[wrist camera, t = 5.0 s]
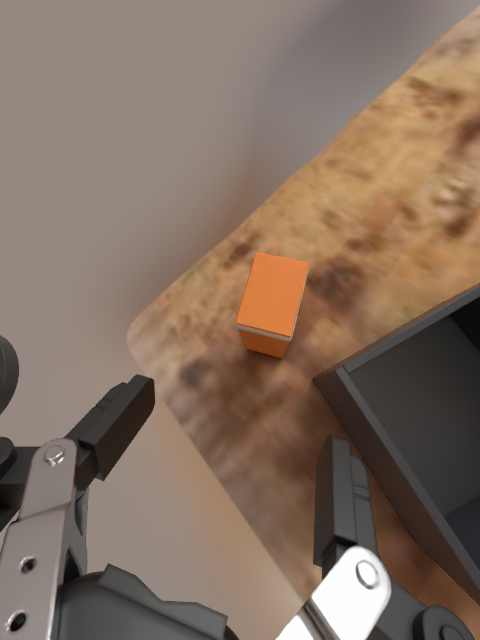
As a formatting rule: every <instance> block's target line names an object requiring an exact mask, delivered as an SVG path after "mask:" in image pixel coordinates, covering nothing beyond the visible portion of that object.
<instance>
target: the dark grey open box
mask: <svg viewBox="0 0 480 640" xmlns="http://www.w3.org/2000/svg"><path fill="white" fill-rule="evenodd" d="M313 379H314V381H315V383H316V384H317V386H318V387H319V389H320V391H321V392H322V394H323V395H324V397H325V399H326V400H327V402H328V403H329V405H330V407H331V408H332V410H333V411H334V413H335V415H336V416H337V418H338V419H339V421H340V423H341V424H342V426H343V427H344V429H345V431H346V432H347V434H348V435H349V437H350V439H351V440H352V442H353V443H354V445H355V447H356V448H357V450H358V451H359V453H360V455H361V456H362V458H363V459H364V461H365V463H366V464H367V466H368V467H369V469H370V471H371V472H372V474H373V475H374V477H375V479H376V480H377V482H378V483H379V485H380V486H381V488H382V490H383V491H384V493H385V494H386V496H387V498H388V499H389V501H390V502H391V504H392V506H393V507H394V509H395V510H396V512H397V514H398V515H399V517H400V518H401V520H402V522H403V523H404V525H405V526H406V528H407V530H408V531H409V533H410V534H411V536H412V538H413V539H414V541H415V542H416V543H417V544H418V545H419V546H420V547H421V548H422V549H423V550H424V551H425V552H426V553H427V554H428V555H429V556H430V557H431V558H432V559H433V560H434V561H435V562H436V563H437V564H438V565H439V566H440V567H441V568H442V569H443V570H444V571H445V572H446V573H447V574H448V575H449V576H450V577H451V578H452V579H453V580H454V581H455V582H456V583H457V584H458V585H459V586H460V587H461V588H463V589H464V590H465V591H466V592H467V593H468V594H469V595H470V596H471V597H472V598H473V599H474V600H475V601H476V602H477V603H478V604H479V605H480V283H478V284H477V285H475V286H473V287H471V288H469V289H467V290H465V291H463V292H461V293H459V294H458V295H456V296H454V297H452V298H450V299H448V300H446V301H444V302H442V303H441V304H439V305H437V306H435V307H434V308H432V309H430V310H429V311H427V312H425V313H423V314H422V315H420V316H418V317H417V318H415V319H413V320H412V321H410V322H408V323H406V324H405V325H403V326H401V327H400V328H398V329H396V330H394V331H393V332H391V333H389V334H388V335H386V336H384V337H382V338H381V339H379V340H377V341H376V342H374V343H372V344H370V345H369V346H367V347H365V348H364V349H362V350H360V351H358V352H357V353H355V354H353V355H352V356H350V357H348V358H346V359H345V360H343V361H341V362H340V363H338V364H336V365H334V366H333V367H331V368H329V369H328V370H326V371H324V372H322V373H321V374H319V375H317V376H316V377H314V378H313Z"/></svg>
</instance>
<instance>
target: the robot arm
mask: <svg viewBox="0 0 480 640" xmlns="http://www.w3.org/2000/svg"><path fill="white" fill-rule="evenodd" d="M154 405H155V390H154V380H153V379H152V378H148V377H145V376H142V375H135V376H134V377H133V378H132V379H131V381H130V382H129V383H128V384H127V383H124V382H122V383H120V384H119V385H117V386H115V387H113V388H112V389H110V391H109V392H108V393H107V394H106V395H105V396H104V397H103V399H101V400H100V401H99V402H98V403H97V404H96V406H95V407H93V408H92V409H91V410H90V411H89V412H88V414H87V415H85V417H84V418H83V419H82V420H81V421H80V422H79V423H78V424H77V425H76V426H75V427H74V428H73V429H72V430H71V431H70V432H69V433H68V434H67V435H66V436H65V437H64V438H60V439H55V440H52V441H50V442H48V443H46V444H44V445H43V446H41V447H14V445H13V443H12V441H11V440H10V439H8V438H6V437H0V532H1V531H2V530H3V528H4V527H5V526H6V525H7V524H8V522H9V521H10V520H11V519H12V517H13V516H14V515H15V514H16V512H17V511H18V510H19V509H20V511H19V515H18V517H17V519H16V521H13V522H12V523H10V525H9V527H8V528H7V531H6V534H5V537H4V541H3V545H2V549H1V553H0V640H239V639H238V637H237V636H236V635H235V633H234V632H233V631H232V630H231V629H230V628H229V627H228V626H227V625H226V623H227V618H228V616H226V615H224V614H222V613H219V612H217V611H215V610H213V609H210V608H208V607H205V606H203V605H201V604H199V603H196V602H177V601H163V600H160V599H159V598H158V597H157V596H156V595H155V594H154V593H153V592H152V591H151V590H150V589H149V588H148V587H147V586H146V585H145V584H144V583H143V582H142V581H141V580H140V579H139V578H138V577H137V576H136V575H134V574H131V573H129V572H127V571H124V570H122V569H120V568H118V567H115V566H113V565H111V564H109V563H108V565H107V566H106V568H105V570H104V572H102V571H100V572H93V573H89V574H87V549H86V524H87V508H88V491H89V488H88V487H89V485H90V483H91V482H92V481H93V479H94V478H97V479H99V480H102V481H104V480H105V478H106V477H107V475H108V474H109V473H110V471H111V470H112V468H113V467H114V466H115V464H116V463H117V461H118V460H119V459H120V457H121V456H122V454H123V453H124V451H125V450H126V449H127V447H128V446H129V444H130V443H131V441H132V440H133V439H134V437H135V436H136V434H137V433H138V431H139V430H140V429H141V427H142V426H143V425H144V423H145V422H146V420H147V419H148V417H149V416H150V414H151V413H152V411H153V408H154ZM370 499H371V497H370V490H369V482H368V475H367V471H366V469H365V467H364V465H363V463H362V461H361V459H360V458H359V457H356V456H352V455H351V452H350V443H349V440H348V439H344V438H341V437H338V436H335V435H331V434H329V435H328V437H327V440H326V442H325V444H324V446H323V448H322V450H321V452H320V455H319V457H318V461H317V468H316V494H315V525H314V556H313V564H315V565H317V566H320V567H322V582H321V583H320V584H319V586H318V587H317V588H316V589H315V591H314V592H313V593H312V595H311V596H310V597H309V598H308V600H307V601H306V602H305V603H304V605H303V606H302V607H301V608H300V610H299V611H298V612H297V613H296V615H295V616H294V617H293V618H292V620H291V621H290V622H289V623H288V625H287V626H286V627H285V628H284V630H283V631H282V632H281V634H280V635H279V636H278V637H277V639H276V640H475V639H474V637H473V635H472V634H471V632H470V631H469V629H468V628H467V627H466V625H465V624H464V623H463V622H462V621H461V620H460V619H459V617H457V616H456V615H455V614H454V613H453V612H451V611H450V610H448V609H447V608H445V607H442V606H440V605H431V606H429V607H427V606H426V605H424V604H423V603H422V602H420V601H419V600H418V599H416V598H415V597H414V596H413V595H411V594H410V593H409V592H407V591H406V590H405V589H403V588H402V587H401V586H400V585H399V584H397V582H396V581H395V580H394V579H393V578H392V577H391V576H390V575H389V573H388V572H387V570H386V569H385V567H384V565H383V563H382V561H381V559H380V556H379V553H378V549H377V542H376V535H375V527H374V520H373V512H372V505H371V501H370Z"/></svg>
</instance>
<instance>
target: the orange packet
mask: <svg viewBox="0 0 480 640" xmlns="http://www.w3.org/2000/svg"><path fill="white" fill-rule="evenodd" d="M308 269H309V263H308V262H303V261H298V260H293V259H288V258H283V257H279V256H274V255H269V254H264V253H259V252H256V255H255V258H254V262H253V265H252V268H251V272H250V275H249V279H248V282H247V285H246V289H245V292H244V295H243V299H242V302H241V306H240V309H239V312H238V316H237V319H236V323H235V325H236V327H237V328H238V329H239V332H240V334H241V336H242V338H243V341H244V343H245V345H246V347H247V349H249V350H253V351H257V352H260V353H264V354H268V355H271V356H275V357H279V358H283V356H284V354H285V351H286V349H287V346H288V344H289V342H290V341H291V339H292V336H293V331H294V327H295V323H296V319H297V315H298V311H299V307H300V303H301V298H302V294H303V290H304V286H305V282H306V278H307V274H308Z"/></svg>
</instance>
